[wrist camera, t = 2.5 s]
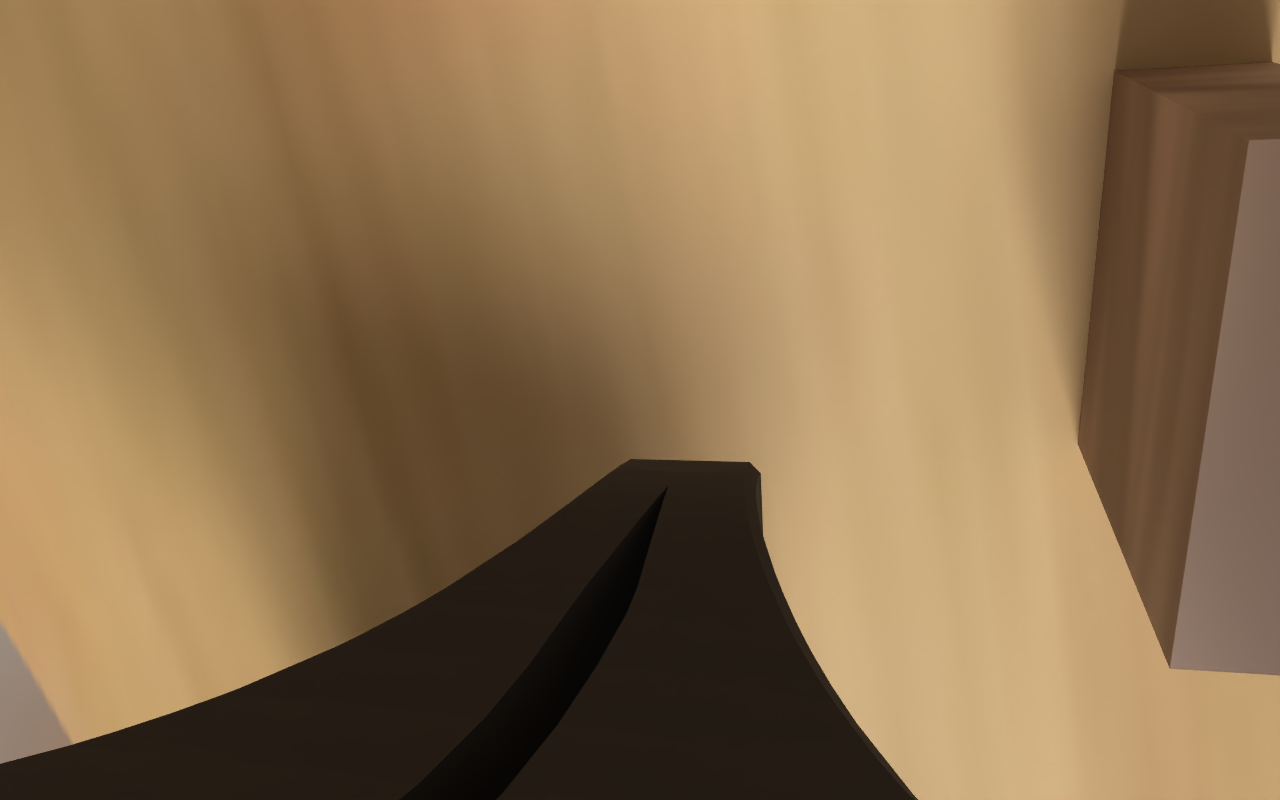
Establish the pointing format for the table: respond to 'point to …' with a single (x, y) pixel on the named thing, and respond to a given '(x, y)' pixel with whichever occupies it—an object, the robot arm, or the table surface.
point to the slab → (1192, 357)
